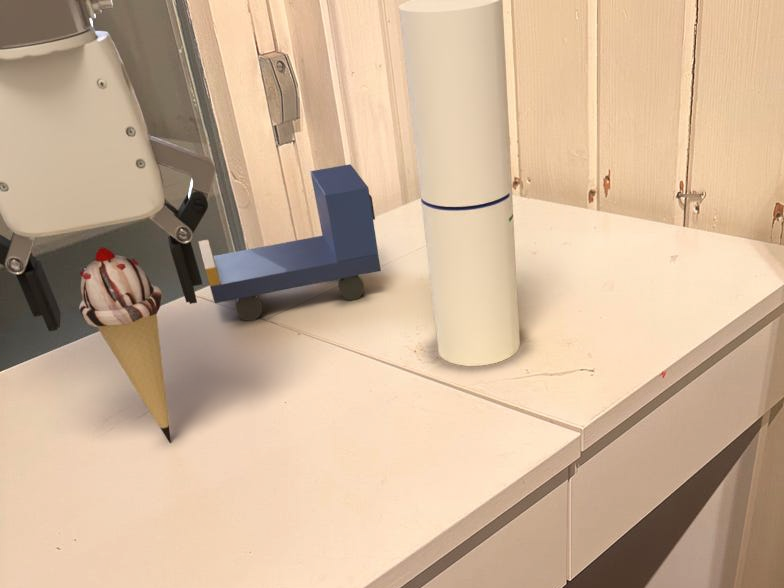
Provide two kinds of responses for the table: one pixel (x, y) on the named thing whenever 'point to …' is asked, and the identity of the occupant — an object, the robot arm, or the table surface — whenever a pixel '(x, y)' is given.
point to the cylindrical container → (464, 173)
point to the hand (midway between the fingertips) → (123, 309)
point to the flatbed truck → (305, 249)
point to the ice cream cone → (128, 323)
